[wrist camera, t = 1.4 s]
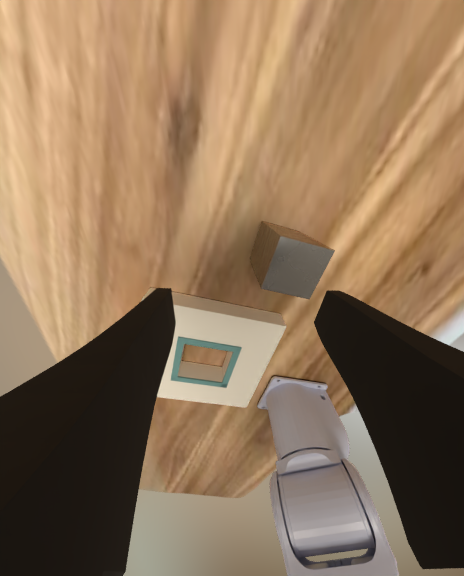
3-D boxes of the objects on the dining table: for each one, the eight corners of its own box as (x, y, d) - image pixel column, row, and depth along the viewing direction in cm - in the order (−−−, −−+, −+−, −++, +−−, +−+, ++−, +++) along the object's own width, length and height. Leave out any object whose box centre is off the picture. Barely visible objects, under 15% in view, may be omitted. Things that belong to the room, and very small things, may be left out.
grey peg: (298, 231, 19) (334, 250, 13) (283, 266, 21) (309, 299, 15) (261, 220, 18) (280, 236, 12) (249, 258, 20) (261, 288, 14)
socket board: (280, 313, 24) (287, 327, 21) (244, 391, 31) (246, 409, 28) (150, 287, 21) (141, 299, 19) (143, 378, 28) (136, 395, 26)
